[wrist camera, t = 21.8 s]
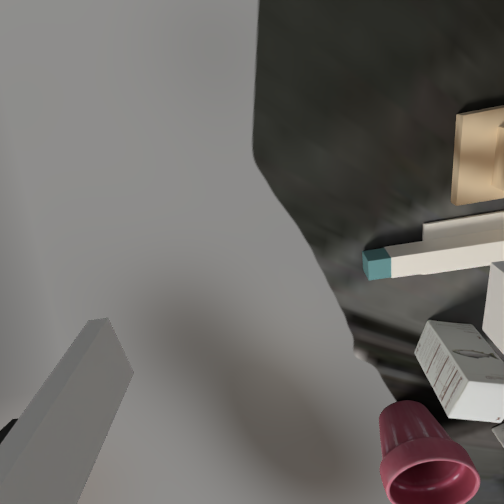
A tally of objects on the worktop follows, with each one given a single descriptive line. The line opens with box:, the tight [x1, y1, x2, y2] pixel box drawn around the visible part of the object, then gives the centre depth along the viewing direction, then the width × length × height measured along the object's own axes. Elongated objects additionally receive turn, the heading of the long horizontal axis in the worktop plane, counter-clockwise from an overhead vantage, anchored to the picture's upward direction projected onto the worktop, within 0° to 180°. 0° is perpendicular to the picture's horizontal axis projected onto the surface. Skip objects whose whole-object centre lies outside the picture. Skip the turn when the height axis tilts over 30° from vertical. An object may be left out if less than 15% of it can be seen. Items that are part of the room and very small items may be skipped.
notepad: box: [422, 211, 504, 275], centre depth 48 cm, size 8×15×1 cm, turn 101°
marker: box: [362, 229, 504, 280], centre depth 47 cm, size 3×21×3 cm, turn 101°
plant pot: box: [379, 400, 480, 504], centre depth 59 cm, size 14×14×13 cm
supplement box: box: [414, 320, 504, 423], centre depth 50 cm, size 7×7×13 cm
